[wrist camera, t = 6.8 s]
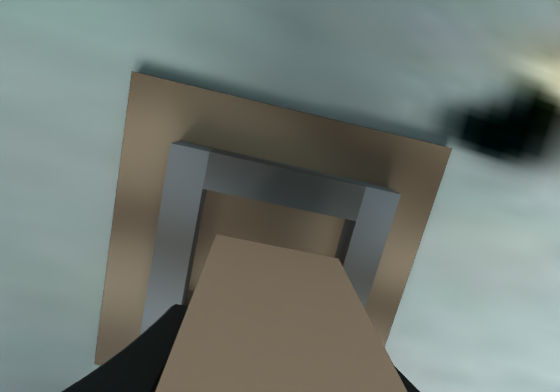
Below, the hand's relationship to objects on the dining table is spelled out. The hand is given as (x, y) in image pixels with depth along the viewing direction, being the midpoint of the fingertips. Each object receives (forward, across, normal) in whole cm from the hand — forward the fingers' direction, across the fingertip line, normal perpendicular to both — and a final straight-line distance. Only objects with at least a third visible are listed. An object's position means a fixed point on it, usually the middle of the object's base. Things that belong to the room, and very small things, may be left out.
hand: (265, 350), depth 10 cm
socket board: (+7, 0, 0) cm, 7 cm away
